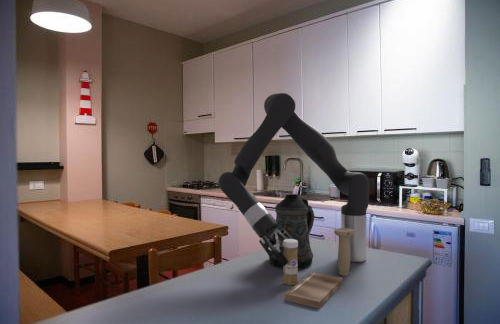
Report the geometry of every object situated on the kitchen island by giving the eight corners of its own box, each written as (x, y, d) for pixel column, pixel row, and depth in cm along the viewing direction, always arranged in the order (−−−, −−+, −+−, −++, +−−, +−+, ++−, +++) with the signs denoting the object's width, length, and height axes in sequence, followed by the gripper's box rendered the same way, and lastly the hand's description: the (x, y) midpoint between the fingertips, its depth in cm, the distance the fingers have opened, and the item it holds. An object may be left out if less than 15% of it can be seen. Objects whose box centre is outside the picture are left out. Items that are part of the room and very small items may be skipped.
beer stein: (262, 266, 121) (261, 197, 121) (278, 251, 139) (278, 191, 138) (307, 272, 115) (307, 199, 114) (318, 256, 133) (318, 193, 132)
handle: (356, 275, 111) (356, 230, 111) (339, 278, 109) (339, 232, 109) (347, 271, 116) (348, 227, 115) (331, 273, 114) (331, 229, 113)
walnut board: (312, 277, 110) (312, 271, 110) (342, 283, 104) (342, 277, 104) (285, 299, 93) (285, 293, 93) (319, 308, 88) (319, 301, 88)
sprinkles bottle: (290, 287, 102) (290, 242, 102) (280, 282, 106) (280, 239, 105) (301, 283, 105) (300, 240, 104) (290, 279, 108) (290, 237, 108)
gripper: (256, 216, 103) (290, 259, 97) (277, 209, 115) (309, 247, 109) (241, 231, 106) (274, 274, 100) (264, 223, 118) (294, 261, 112)
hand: (292, 260), depth 105 cm, fingers open, 8 cm apart
